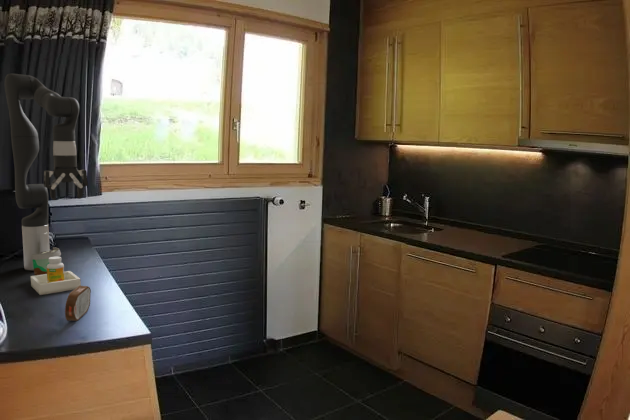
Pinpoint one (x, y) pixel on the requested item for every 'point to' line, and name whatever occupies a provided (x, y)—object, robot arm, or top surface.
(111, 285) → the top surface
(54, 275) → the supplement bottle
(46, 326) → the top surface
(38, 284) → the tray
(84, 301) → the tin
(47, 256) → the ice cream tub
